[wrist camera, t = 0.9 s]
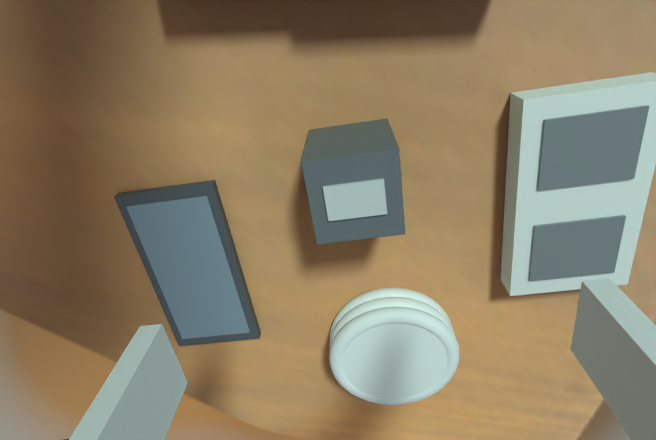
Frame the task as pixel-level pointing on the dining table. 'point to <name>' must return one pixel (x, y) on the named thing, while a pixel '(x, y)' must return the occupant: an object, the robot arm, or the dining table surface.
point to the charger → (354, 182)
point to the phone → (191, 261)
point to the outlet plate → (577, 182)
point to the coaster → (393, 346)
